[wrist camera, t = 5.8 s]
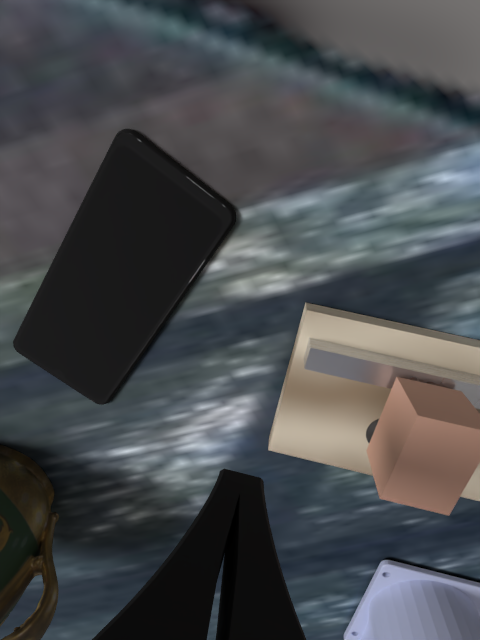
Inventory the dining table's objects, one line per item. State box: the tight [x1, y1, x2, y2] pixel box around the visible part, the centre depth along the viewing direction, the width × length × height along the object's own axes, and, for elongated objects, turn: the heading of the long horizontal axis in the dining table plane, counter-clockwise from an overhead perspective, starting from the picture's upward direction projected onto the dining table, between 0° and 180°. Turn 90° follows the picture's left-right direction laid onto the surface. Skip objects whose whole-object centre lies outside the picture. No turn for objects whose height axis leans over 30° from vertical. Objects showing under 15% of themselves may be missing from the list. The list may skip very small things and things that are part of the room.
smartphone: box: [13, 129, 236, 404], centre depth 20 cm, size 7×1×15 cm
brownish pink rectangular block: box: [366, 377, 480, 515], centre depth 17 cm, size 5×3×4 cm, turn 169°
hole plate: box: [268, 303, 480, 501], centre depth 19 cm, size 9×20×1 cm, turn 79°
